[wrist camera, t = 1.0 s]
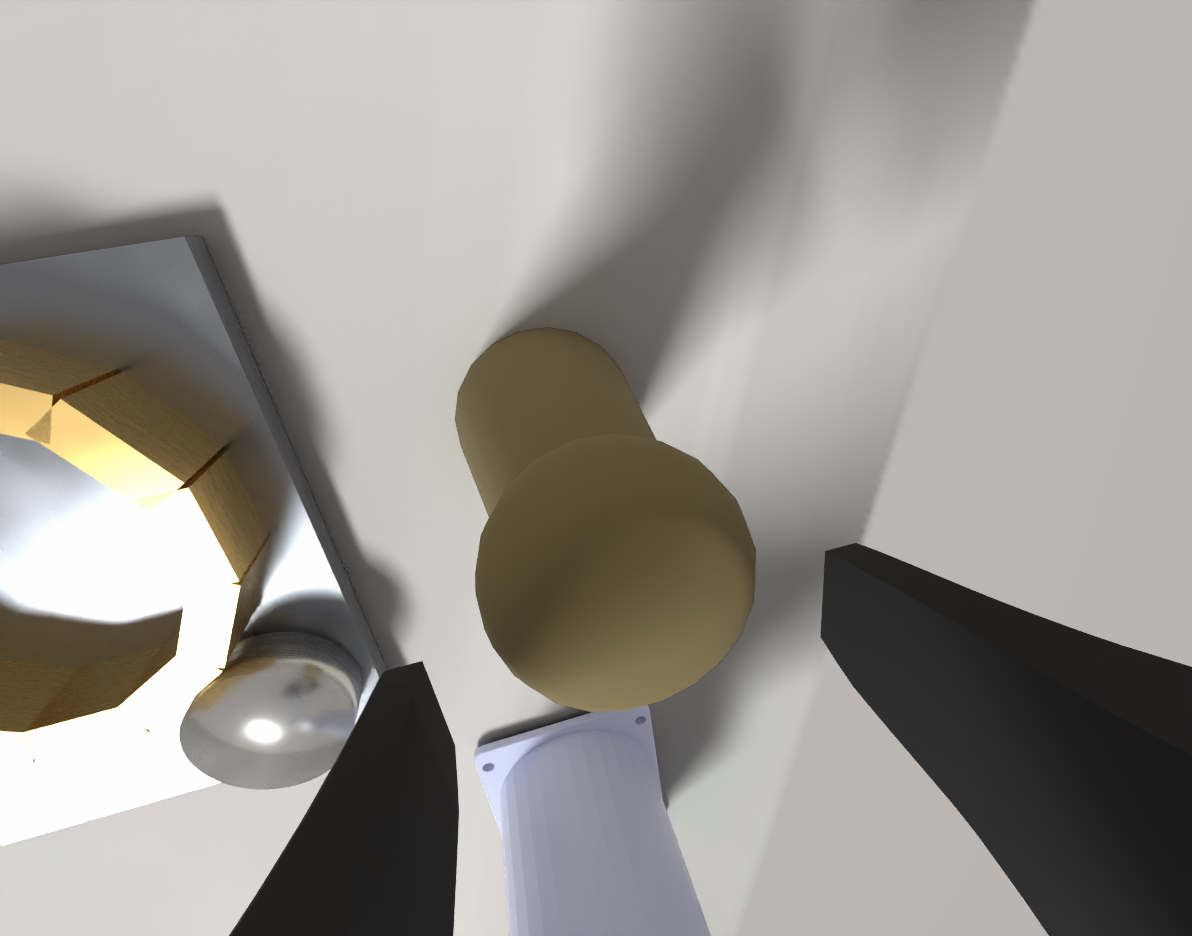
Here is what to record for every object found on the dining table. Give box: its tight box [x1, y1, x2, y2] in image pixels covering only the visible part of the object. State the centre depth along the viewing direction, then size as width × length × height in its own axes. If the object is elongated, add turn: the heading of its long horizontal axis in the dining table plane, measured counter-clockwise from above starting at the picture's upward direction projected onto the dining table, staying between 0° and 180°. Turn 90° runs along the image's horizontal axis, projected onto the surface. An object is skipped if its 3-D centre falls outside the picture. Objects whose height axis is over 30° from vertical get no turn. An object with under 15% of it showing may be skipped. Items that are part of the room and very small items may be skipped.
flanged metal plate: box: [0, 236, 388, 846], centre depth 16 cm, size 18×14×4 cm
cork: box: [455, 328, 756, 712], centre depth 14 cm, size 6×6×11 cm
